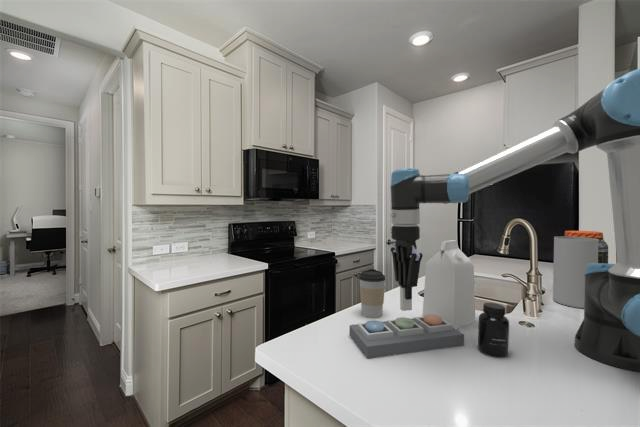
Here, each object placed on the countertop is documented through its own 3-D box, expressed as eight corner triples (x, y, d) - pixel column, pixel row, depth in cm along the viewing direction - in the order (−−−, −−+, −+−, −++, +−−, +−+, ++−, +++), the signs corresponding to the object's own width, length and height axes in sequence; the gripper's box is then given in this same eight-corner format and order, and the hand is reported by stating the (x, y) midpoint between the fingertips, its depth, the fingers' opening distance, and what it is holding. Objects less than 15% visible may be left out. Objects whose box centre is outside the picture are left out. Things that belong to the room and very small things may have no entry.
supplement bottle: (498, 360, 70) (499, 312, 70) (472, 348, 76) (472, 303, 76) (514, 354, 73) (515, 307, 73) (488, 342, 79) (488, 299, 79)
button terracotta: (446, 326, 81) (446, 320, 81) (430, 327, 80) (430, 322, 80) (435, 319, 86) (435, 313, 86) (420, 320, 85) (420, 315, 85)
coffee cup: (385, 320, 95) (385, 275, 94) (357, 318, 96) (357, 273, 96) (384, 310, 103) (385, 268, 103) (359, 308, 105) (359, 267, 105)
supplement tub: (601, 288, 129) (603, 231, 128) (613, 298, 116) (614, 234, 115) (556, 283, 137) (557, 229, 137) (562, 291, 124) (563, 232, 123)
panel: (463, 345, 78) (464, 328, 78) (367, 358, 71) (367, 340, 71) (433, 325, 90) (434, 311, 90) (349, 335, 84) (349, 320, 84)
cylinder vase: (549, 303, 110) (551, 238, 109) (555, 296, 119) (557, 235, 118) (594, 312, 101) (596, 241, 100) (598, 303, 109) (599, 238, 109)
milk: (443, 309, 104) (444, 238, 103) (475, 320, 94) (476, 241, 93) (422, 317, 97) (423, 240, 96) (454, 329, 88) (455, 244, 87)
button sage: (417, 329, 79) (417, 323, 79) (401, 331, 78) (401, 325, 78) (407, 322, 84) (407, 316, 84) (392, 323, 82) (392, 318, 82)
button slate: (387, 332, 77) (387, 327, 77) (370, 335, 75) (370, 328, 75) (379, 325, 81) (379, 319, 81) (362, 327, 80) (362, 321, 80)
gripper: (382, 224, 85) (383, 303, 86) (405, 227, 72) (406, 319, 73) (405, 223, 87) (405, 300, 88) (431, 226, 74) (432, 316, 75)
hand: (406, 309), depth 80 cm, fingers closed
